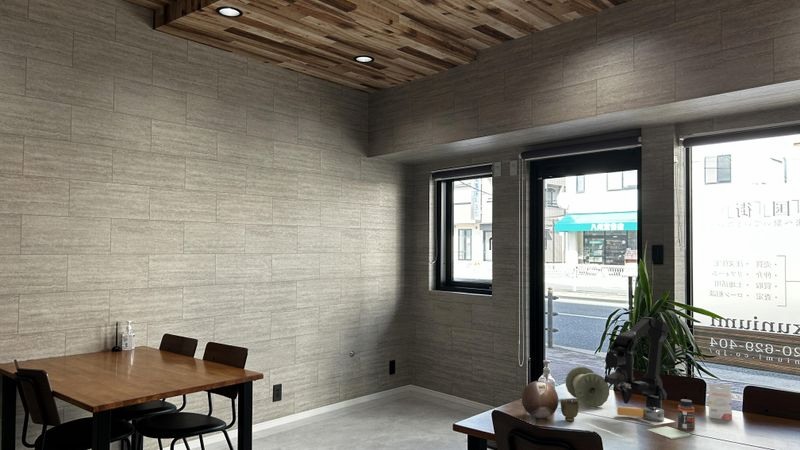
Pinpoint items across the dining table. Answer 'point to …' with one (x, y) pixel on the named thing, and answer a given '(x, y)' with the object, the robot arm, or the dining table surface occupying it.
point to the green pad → (669, 432)
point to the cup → (569, 409)
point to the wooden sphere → (540, 399)
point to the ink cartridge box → (720, 401)
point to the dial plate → (654, 422)
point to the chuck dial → (643, 413)
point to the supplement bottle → (686, 415)
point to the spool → (587, 387)
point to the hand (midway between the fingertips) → (625, 403)
